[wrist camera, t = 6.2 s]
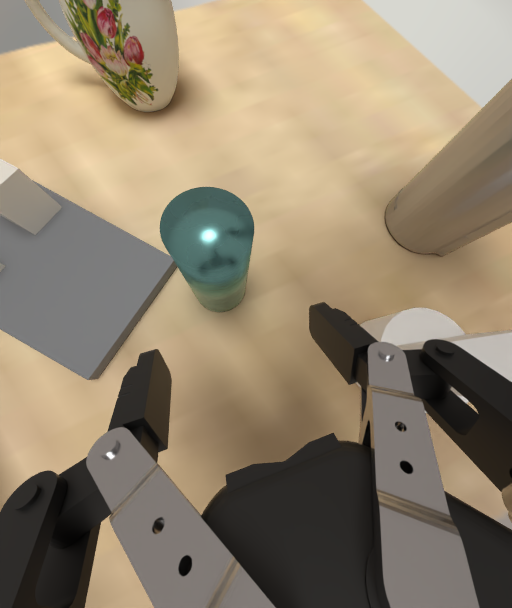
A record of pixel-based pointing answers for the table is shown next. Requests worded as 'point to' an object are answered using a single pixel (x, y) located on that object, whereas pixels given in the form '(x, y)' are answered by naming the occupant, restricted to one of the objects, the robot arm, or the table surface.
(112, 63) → the pitcher
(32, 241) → the slate board
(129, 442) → the robot arm
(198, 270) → the teal glass cylinder
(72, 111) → the table surface
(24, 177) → the cream cube
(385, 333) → the base with upright slab
